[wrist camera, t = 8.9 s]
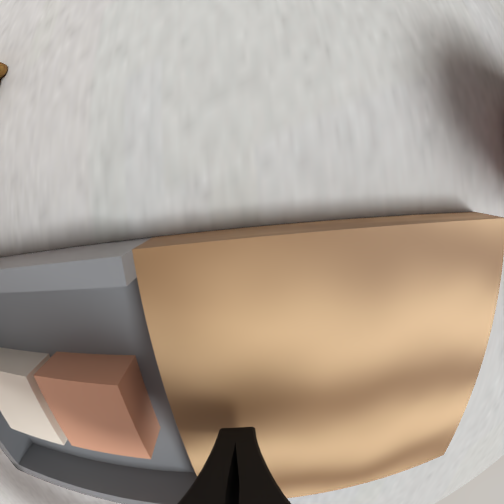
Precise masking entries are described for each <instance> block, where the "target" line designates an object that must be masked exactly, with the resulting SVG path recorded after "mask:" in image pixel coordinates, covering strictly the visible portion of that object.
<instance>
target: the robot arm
mask: <svg viewBox="0 0 504 504" xmlns="http://www.w3.org/2000/svg"><path fill="white" fill-rule="evenodd" d="M177 504H291V503H290V502H289V501H288V499H287V498H286V496H285V495H284V494H283V492H282V491H281V489H280V488H279V486H278V485H277V483H276V481H275V480H274V478H273V476H272V474H271V472H270V471H269V469H268V467H267V464H266V462H265V460H264V458H263V456H262V453H261V451H260V448H259V445H258V442H257V437H256V430H255V428H254V427H238V428H221V429H220V430H219V433H218V436H217V438H216V441H215V444H214V446H213V448H212V450H211V453H210V455H209V457H208V459H207V461H206V462H205V464H204V466H203V468H202V470H201V471H200V473H199V475H198V476H197V478H196V479H195V481H194V483H193V484H192V486H191V487H190V488H189V490H188V491H187V492H186V494H185V495H184V496H183V498H182V499H181V500H180V501H179V502H178V503H177Z"/></svg>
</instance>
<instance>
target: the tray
mask: <svg viewBox="0 0 504 504" xmlns="http://www.w3.org/2000/svg"><path fill="white" fill-rule="evenodd" d="M151 238H152V237H151ZM151 238H142V239H134V240H125V241H117V242H109V243H101V244H93V245H85V246H78V247H70V248H63V249H55V250H48V251H41V252H34V253H27V254H21V255H14V256H7V257H1V258H0V347H1V348H8V349H15V350H22V351H30V352H38V353H48V354H49V355H50V358H51V357H52V356H53V355H54V354H55V353H56V352H70V353H86V354H107V355H135V356H136V359H137V362H138V366H139V369H140V372H141V375H142V378H143V381H144V384H145V387H146V390H147V393H148V396H149V398H150V401H151V404H152V407H153V409H154V412H155V415H156V417H157V420H158V422H159V425H160V427H161V428H160V431H159V434H158V437H157V441H156V444H155V447H154V451H153V454H152V457H151V459H145V458H136V457H129V456H122V455H115V454H110V453H104V452H99V451H94V450H89V449H84V448H80V447H76V446H72V445H71V443H70V442H69V440H67V441H66V443H65V445H61V444H57V443H53V442H50V441H47V440H43V439H40V438H37V437H34V436H31V435H28V434H25V433H22V432H20V431H17V430H14V429H12V428H11V427H10V426H9V424H8V423H7V421H6V419H5V418H4V416H3V414H2V413H1V411H0V448H1V449H2V450H3V452H4V453H5V454H6V456H7V457H8V458H9V460H10V461H11V462H12V463H13V465H14V466H15V467H16V468H17V469H18V470H21V471H23V472H25V473H27V474H30V475H32V476H34V477H37V478H39V479H42V480H44V481H47V482H49V483H52V484H55V485H58V486H60V487H63V488H66V489H69V490H73V491H76V492H79V493H82V494H86V495H89V496H93V497H97V498H101V499H105V500H109V501H113V502H118V503H122V504H177V503H178V502H179V501H180V500H181V499H182V498H183V496H184V495H185V494H186V492H187V491H188V490H189V488H190V487H191V486H192V484H193V483H194V481H195V479H196V478H197V475H196V473H195V471H194V468H193V466H192V463H191V461H190V459H189V456H188V454H187V451H186V448H185V446H184V443H183V441H182V438H181V435H180V433H179V430H178V427H177V424H176V421H175V419H174V416H173V413H172V410H171V407H170V404H169V401H168V398H167V395H166V391H165V388H164V385H163V382H162V378H161V375H160V372H159V368H158V365H157V361H156V357H155V354H154V350H153V346H152V342H151V339H150V335H149V331H148V326H147V322H146V318H145V314H144V309H143V305H142V300H141V295H140V290H139V286H138V280H137V275H136V270H135V264H134V259H133V253H132V249H134V248H135V247H137V246H139V245H140V244H142V243H144V242H146V241H147V240H149V239H151Z"/></svg>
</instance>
